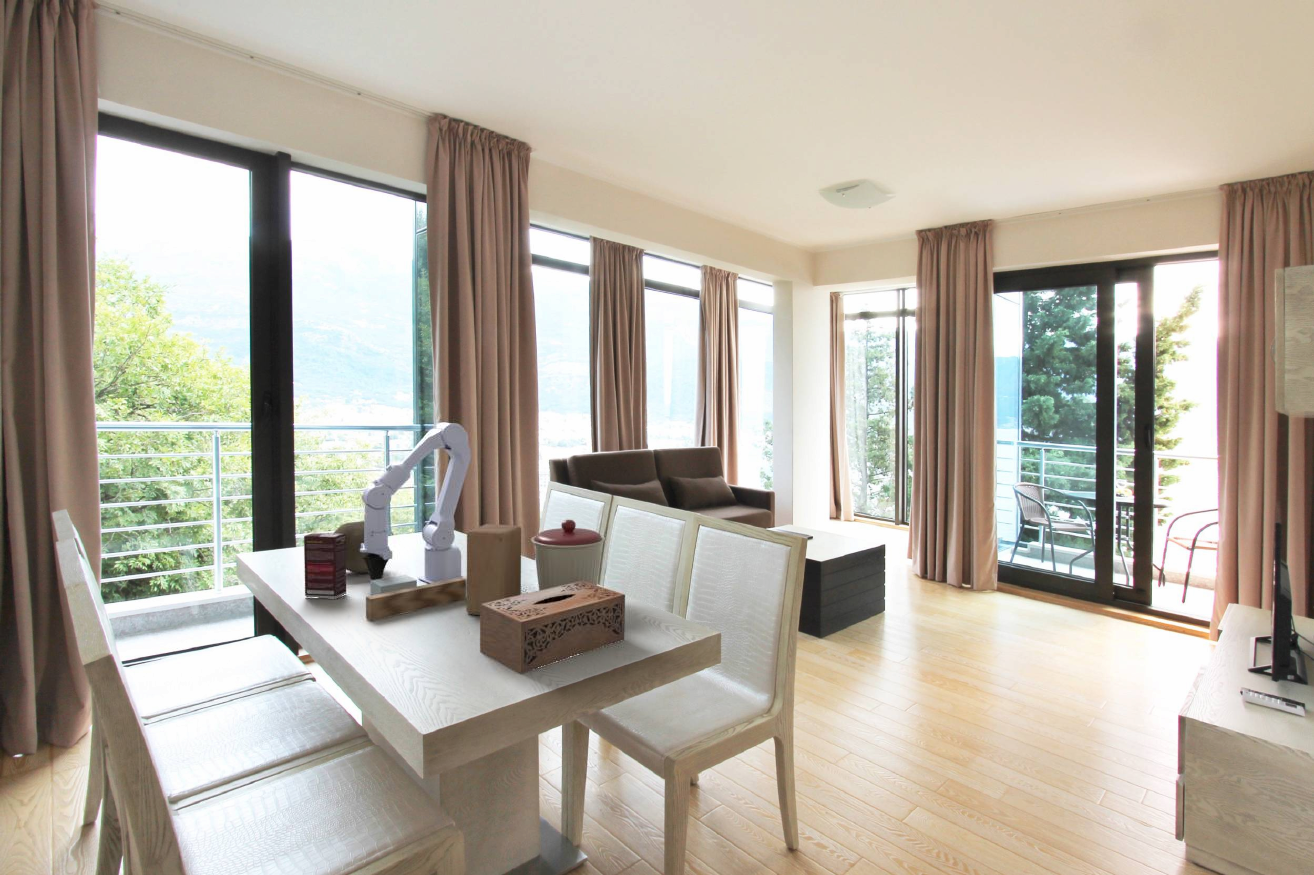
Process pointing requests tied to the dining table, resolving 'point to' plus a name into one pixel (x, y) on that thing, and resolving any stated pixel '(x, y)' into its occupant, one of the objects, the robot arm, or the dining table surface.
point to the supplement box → (325, 565)
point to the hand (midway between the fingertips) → (376, 581)
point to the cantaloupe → (354, 546)
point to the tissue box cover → (550, 624)
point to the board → (415, 598)
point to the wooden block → (492, 564)
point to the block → (392, 584)
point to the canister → (567, 555)
